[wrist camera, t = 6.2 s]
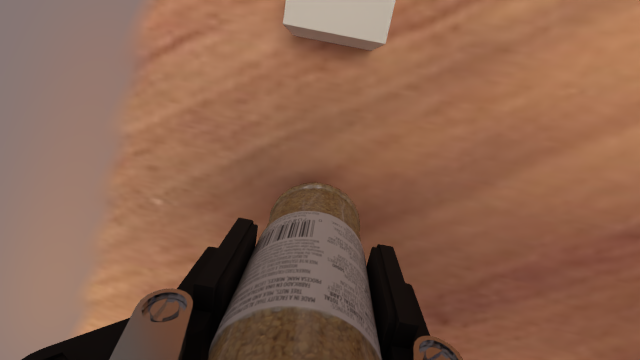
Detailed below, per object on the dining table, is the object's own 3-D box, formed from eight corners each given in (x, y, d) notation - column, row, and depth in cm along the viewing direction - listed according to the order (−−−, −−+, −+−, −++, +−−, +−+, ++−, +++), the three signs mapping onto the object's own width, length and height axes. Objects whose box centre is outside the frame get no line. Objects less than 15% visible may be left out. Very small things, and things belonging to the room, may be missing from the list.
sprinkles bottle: (280, 264, 16) (89, 929, 4) (262, 184, 15) (-162, 828, 2) (365, 255, 16) (488, 971, 3) (355, 172, 14) (508, 884, 2)
